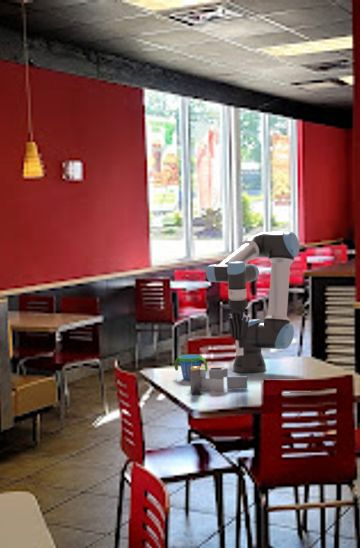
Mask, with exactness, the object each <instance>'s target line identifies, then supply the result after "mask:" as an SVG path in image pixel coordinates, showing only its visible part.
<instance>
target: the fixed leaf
mask: <svg viewBox="0 0 360 548" xmlns="http://www.w3.org/2000/svg"><path fill="white" fill-rule="evenodd" d="M206 373H207V372H206V369H200V381H201V391H209V392H224V390H225V384H224V383H225V382H224V380H225V379H224V378H225V377H223V378H216V379H209V377H207V375H206Z"/></svg>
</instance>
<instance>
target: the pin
mask: <svg viewBox="0 0 360 548" xmlns="http://www.w3.org/2000/svg"><path fill="white" fill-rule="evenodd" d="M191 377H192V390H191V394H192V396H201V395H202V390H201V381H200V367H199V366H193V367H191Z"/></svg>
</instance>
